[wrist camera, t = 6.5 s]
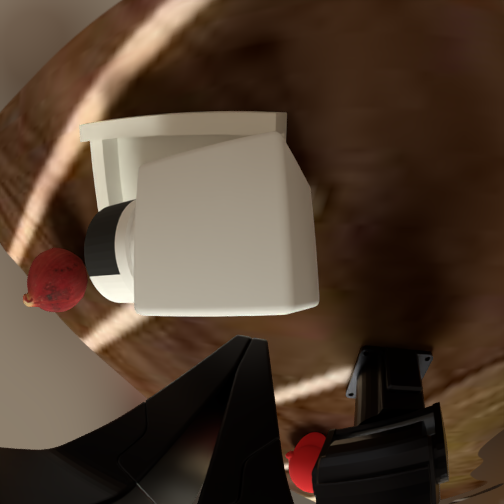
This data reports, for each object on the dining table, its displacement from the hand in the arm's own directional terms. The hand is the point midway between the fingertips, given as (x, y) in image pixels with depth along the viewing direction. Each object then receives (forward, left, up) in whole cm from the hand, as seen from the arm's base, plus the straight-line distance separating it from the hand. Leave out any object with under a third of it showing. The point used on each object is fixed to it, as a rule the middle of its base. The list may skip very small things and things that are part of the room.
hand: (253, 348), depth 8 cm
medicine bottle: (+1, -1, -7) cm, 7 cm away
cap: (-29, -5, -13) cm, 32 cm away
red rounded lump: (-7, +21, -13) cm, 26 cm away
